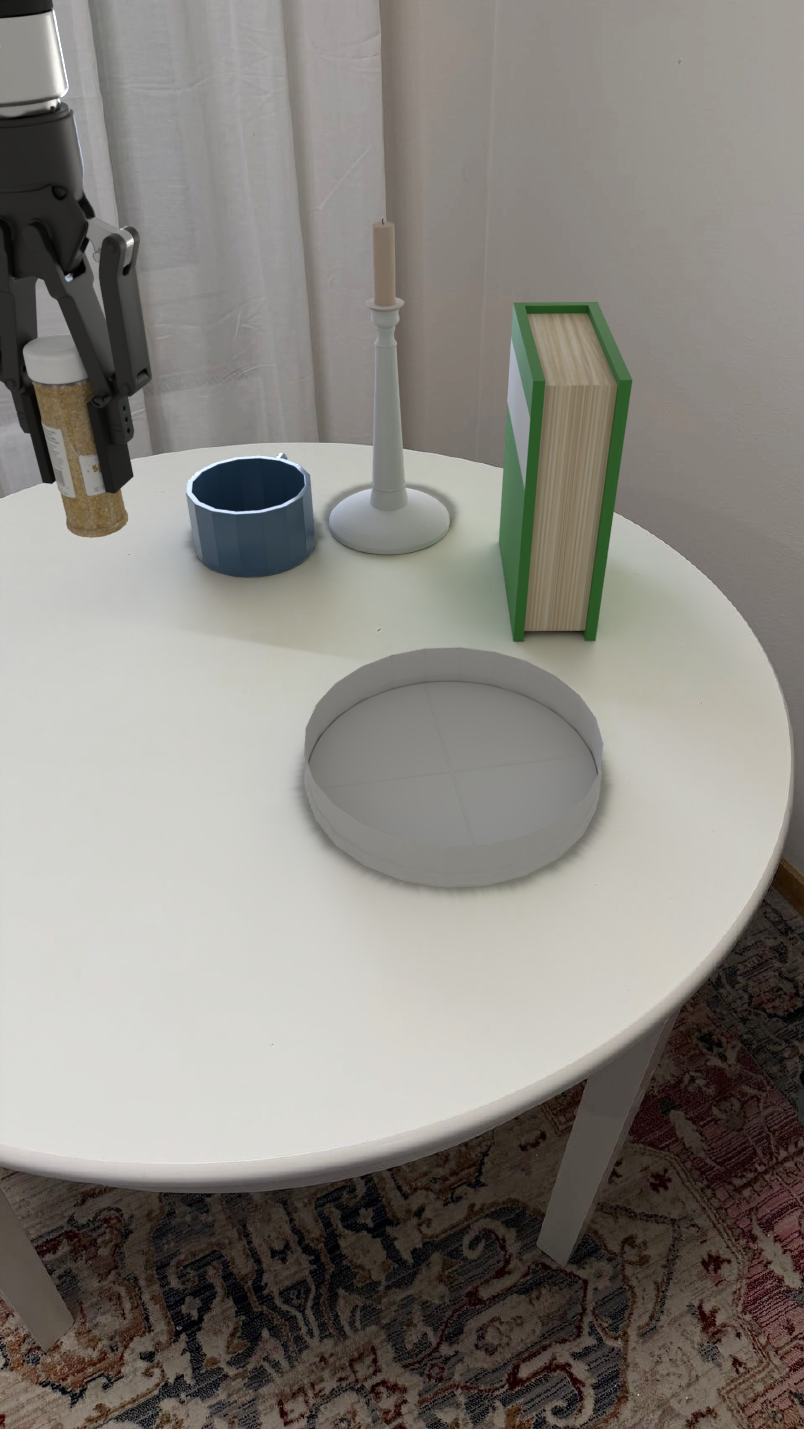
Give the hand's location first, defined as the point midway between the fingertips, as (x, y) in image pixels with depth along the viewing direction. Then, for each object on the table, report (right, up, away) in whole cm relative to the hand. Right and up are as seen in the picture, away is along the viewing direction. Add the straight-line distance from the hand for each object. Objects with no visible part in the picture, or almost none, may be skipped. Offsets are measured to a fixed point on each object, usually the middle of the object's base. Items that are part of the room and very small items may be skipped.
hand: (88, 479), depth 72 cm
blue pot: (+8, +2, +33) cm, 34 cm away
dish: (+26, -22, +4) cm, 35 cm away
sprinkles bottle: (0, -3, +3) cm, 4 cm away
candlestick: (+21, +3, +35) cm, 41 cm away
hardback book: (+36, -5, +25) cm, 44 cm away
